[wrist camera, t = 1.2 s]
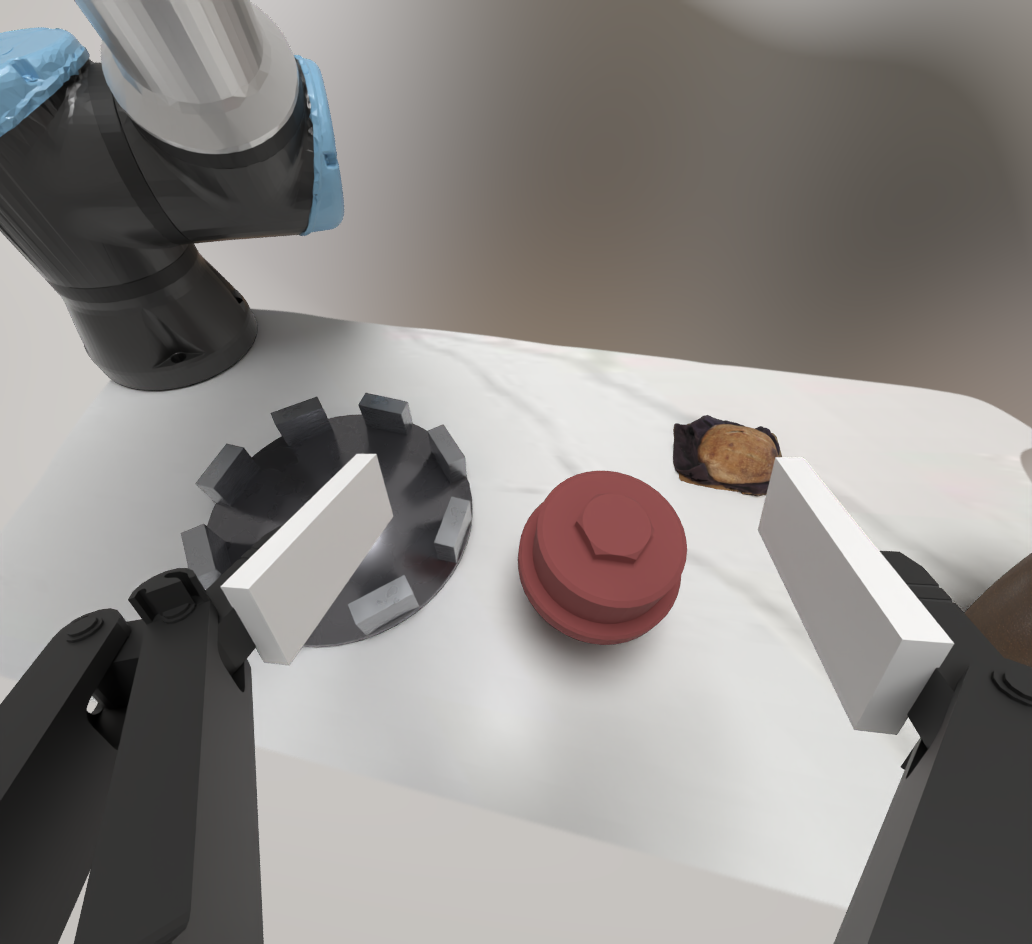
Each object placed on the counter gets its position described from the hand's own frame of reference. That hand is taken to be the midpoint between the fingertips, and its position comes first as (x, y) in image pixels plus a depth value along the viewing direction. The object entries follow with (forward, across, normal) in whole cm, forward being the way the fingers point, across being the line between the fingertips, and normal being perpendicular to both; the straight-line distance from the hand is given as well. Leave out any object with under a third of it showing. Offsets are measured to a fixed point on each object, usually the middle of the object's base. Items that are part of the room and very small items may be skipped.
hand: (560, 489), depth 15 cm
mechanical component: (+12, 0, -18) cm, 21 cm away
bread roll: (+27, +13, -14) cm, 33 cm away
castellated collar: (+14, -20, -12) cm, 27 cm away
